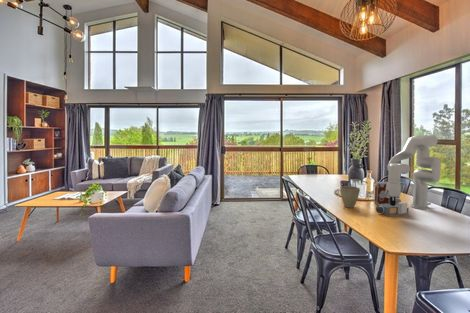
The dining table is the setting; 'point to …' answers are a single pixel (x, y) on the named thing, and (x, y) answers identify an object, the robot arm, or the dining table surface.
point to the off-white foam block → (402, 207)
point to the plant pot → (349, 195)
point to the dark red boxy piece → (382, 194)
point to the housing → (389, 209)
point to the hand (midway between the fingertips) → (392, 205)
